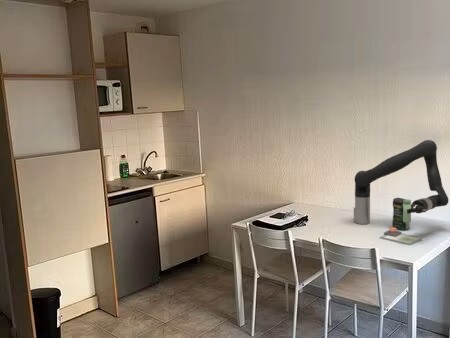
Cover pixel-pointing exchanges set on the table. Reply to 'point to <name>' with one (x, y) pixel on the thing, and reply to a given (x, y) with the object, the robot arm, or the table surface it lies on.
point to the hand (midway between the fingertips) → (404, 210)
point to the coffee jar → (399, 215)
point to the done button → (392, 230)
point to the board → (400, 238)
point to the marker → (405, 207)
